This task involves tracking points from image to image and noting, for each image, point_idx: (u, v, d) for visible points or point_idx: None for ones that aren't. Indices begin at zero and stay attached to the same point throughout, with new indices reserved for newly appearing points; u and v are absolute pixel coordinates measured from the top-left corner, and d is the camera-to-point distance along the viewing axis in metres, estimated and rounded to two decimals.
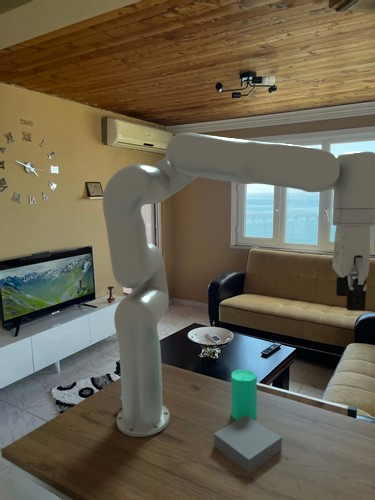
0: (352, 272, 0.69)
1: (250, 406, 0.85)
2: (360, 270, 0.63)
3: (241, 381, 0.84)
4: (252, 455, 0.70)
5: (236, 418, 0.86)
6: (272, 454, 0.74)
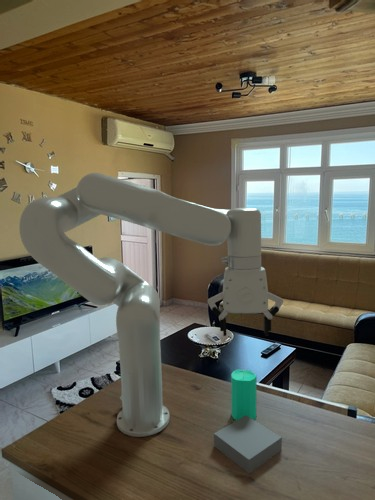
0: None
1: (250, 406, 0.85)
2: (282, 299, 0.82)
3: (241, 381, 0.84)
4: (252, 455, 0.70)
5: (236, 418, 0.86)
6: (272, 454, 0.74)
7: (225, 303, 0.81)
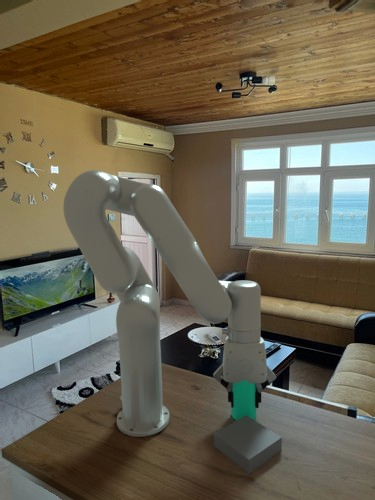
0: None
1: (250, 406, 0.85)
2: (275, 376, 0.85)
3: (241, 381, 0.84)
4: (252, 455, 0.70)
5: (236, 418, 0.86)
6: (272, 454, 0.74)
7: (225, 373, 0.84)
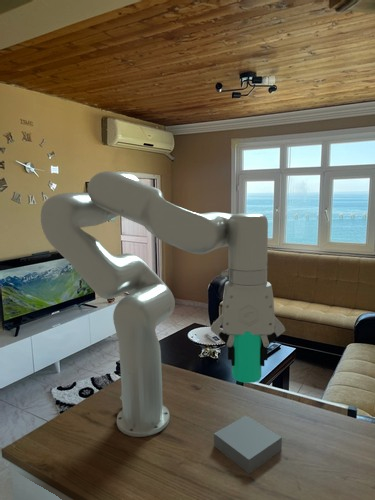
0: None
1: (255, 363, 0.71)
2: (284, 328, 0.72)
3: None
4: (252, 455, 0.70)
5: (237, 378, 0.72)
6: (272, 454, 0.74)
7: (225, 323, 0.70)
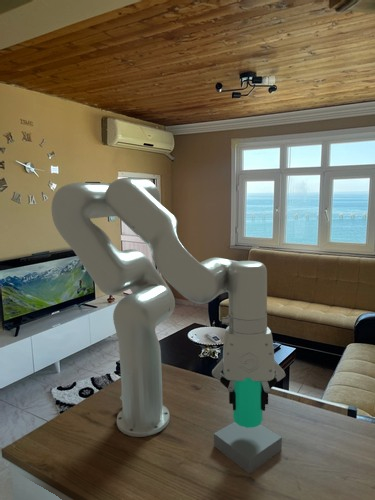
0: None
1: (255, 408, 0.72)
2: (284, 373, 0.73)
3: None
4: (252, 455, 0.70)
5: (239, 422, 0.73)
6: (272, 454, 0.74)
7: (226, 370, 0.71)
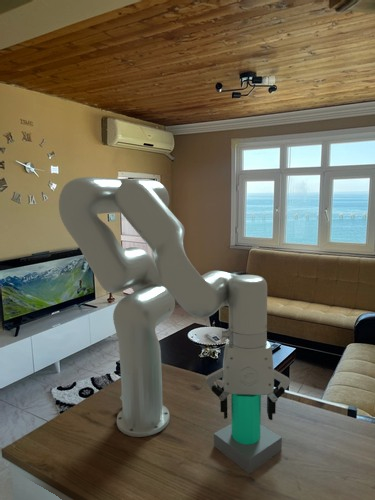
0: None
1: (254, 426, 0.73)
2: (289, 380, 0.73)
3: (243, 397, 0.72)
4: (252, 455, 0.70)
5: (237, 439, 0.74)
6: (272, 454, 0.74)
7: (225, 383, 0.72)
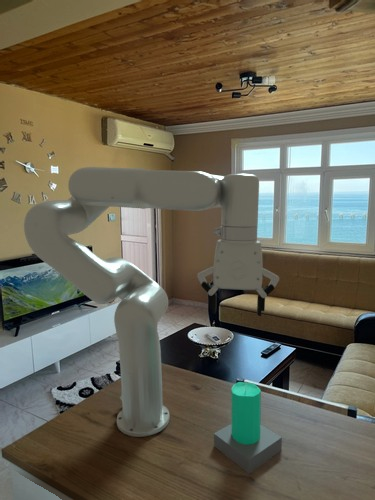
0: None
1: (254, 426, 0.73)
2: None
3: (243, 397, 0.72)
4: (252, 455, 0.70)
5: (237, 439, 0.74)
6: (272, 454, 0.74)
7: (215, 277, 0.75)
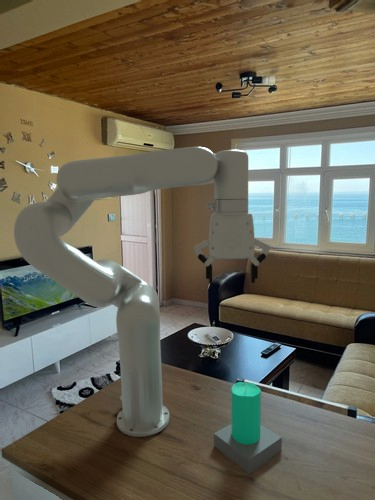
0: None
1: (254, 426, 0.73)
2: None
3: (243, 397, 0.72)
4: (252, 455, 0.70)
5: (237, 439, 0.74)
6: (272, 454, 0.74)
7: (211, 248, 0.80)
